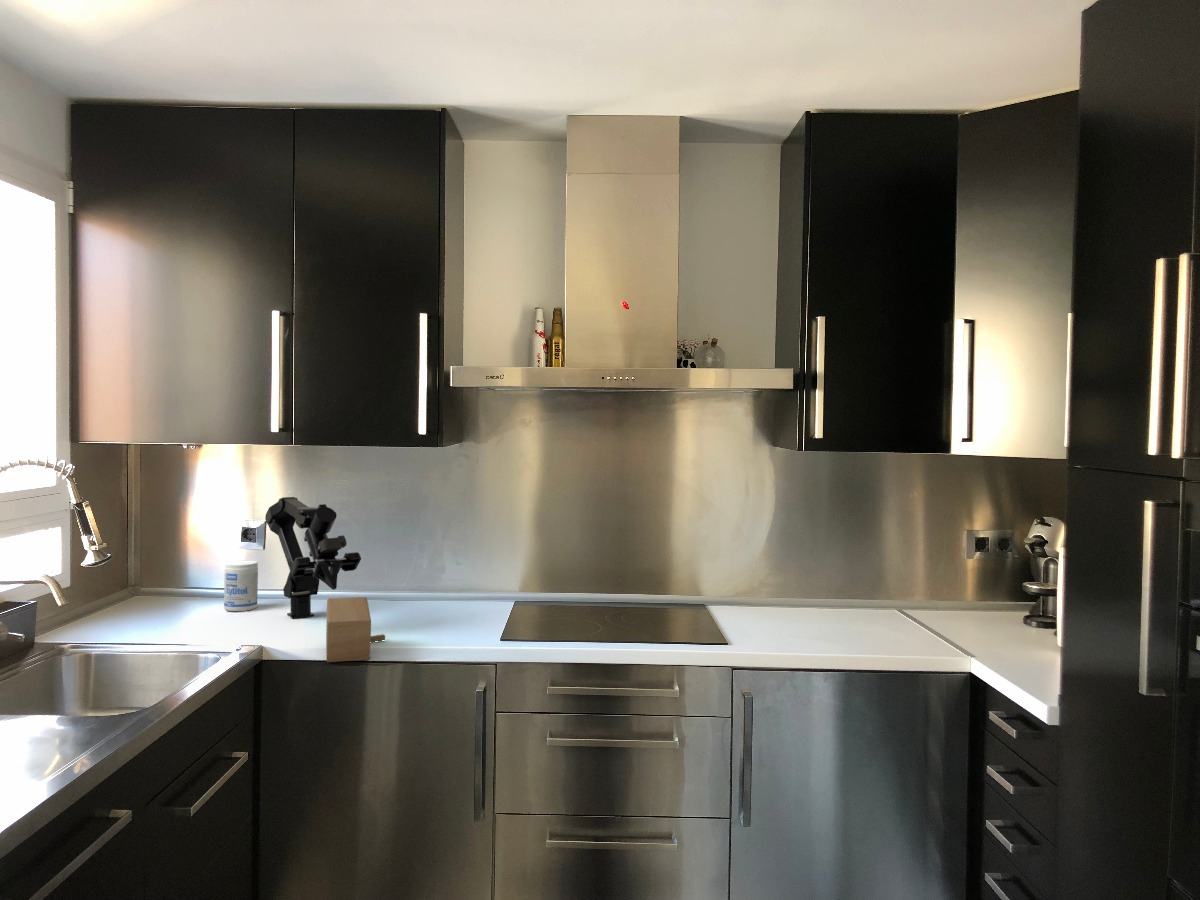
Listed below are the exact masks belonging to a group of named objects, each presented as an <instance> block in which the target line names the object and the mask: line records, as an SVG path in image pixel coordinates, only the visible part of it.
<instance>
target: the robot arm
mask: <svg viewBox="0 0 1200 900" xmlns="http://www.w3.org/2000/svg"><path fill="white" fill-rule="evenodd" d="M264 518H265V523H266V524H267V526H268V528H269V530H270V531H271V532H272V533H274V534H275V535H277V536H278V539H279V543H280V545H281V548H282V551H283V554H284V557H285V560H286V562H287V565H288V568H289V572H288V576H287V579H286V582H285V584H284V587H283V596H284V597H286V598H288V599H290V612H287V613H286V616H288V617H289V616H290V617H289V618H291V619H292V618H293V619H299V618H298V617H302V618H308V617H307V616H310V617H314V616H315V614H314V613H313V612H311V611H312V609H311V608H312V605H311V604H312V600H311V599H312V598H311V597H312V596H314V595H315V596H316V595H318V592H319V586H320V581H322V583H324V584H325V585H327V586H328V587H329V588H330V589H331V590H333V591H335V590H336V589H337V587H338V574H339V573H340V570H342V571H344V572H354V571H356V570H357V568H358V566H359V564H360V563H361V560H362V557H361V554H360V553H359V552H358V551H352V552H345V553H344V555H343V557H340V558H339V557H338V558H336V557H337V556H338V555H339V552H338V551H340V550H342V549H343V548H345V547H346V546H347V539H346V537H345V535H338V536H337V537H329V536H328V534H329V533H330V532H331V530H332V528H333V526H334V523H335V521H336V519H337V512H336V511H335V510H334V509H333V508H331V507H329V506H327V504H324V503H322V504H318V506H317V507H316V506H315V507H313V506H312V507H311V506H308V505H306V504H305V503H303V502H302V501H300V500H299V499H298V498H297V497H295V496H284V497H281V498H279V499H278V501H277V502H276V503H274V504H272V505H271V506H269V507H268V509H267V510H266V513H265V517H264ZM295 524H296V526H297V527H298V528H299V529H300V530H301V529H306V530H305V532H304V537H303V538H304V539H303V540H304V542H307V546H308V548H309V550H310V551H309V553H308V554H309V556H304V555H303V552H302V550H301V547H300V544H299V542H298V541H299V540H298V538H297V535H296V532H295V530H294V526H295ZM310 557H312V560H313V561H311V558H310Z"/></svg>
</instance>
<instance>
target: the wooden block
mask: <svg viewBox="0 0 1200 900" xmlns="http://www.w3.org/2000/svg"><path fill="white" fill-rule="evenodd" d="M326 601H327V602H326V626H325V627H326V629H325V631H326V632H325V633H326V634H325V637H326V638H325V642H326V643H325V646H326V648H325V650H326V651H325V653H326V659H325V660H326V662H327V663H336V662H337V663H338V662H352V661H353V662H354V661H355V662H356V661H369V660H370V658H371V643H370V642H371V636H372V619H371V613H370V608H369V601H368V597H366V596H362V597H361V596H358V597H334V598H332V597H331V598H327V600H326Z"/></svg>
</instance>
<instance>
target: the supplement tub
mask: <svg viewBox="0 0 1200 900" xmlns="http://www.w3.org/2000/svg"><path fill="white" fill-rule="evenodd" d="M224 565H225V566H224V584H223V585H224V589H223V590H224V591H223V594H224V595H223V608H224V610H225V611H227V612H231V611H241V612H248V611H247V610H249V611H252V609H253V610H255V609H256V608H257V607H258V598H259V597H258V593H259V592H258V588H259V587H258V585H259V582H258V581H259V580H258V579H259V566H258V565H259V563H258V561H256V560H234V561H228V562H226V563H225V564H224Z"/></svg>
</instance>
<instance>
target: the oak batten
mask: <svg viewBox="0 0 1200 900" xmlns="http://www.w3.org/2000/svg"><path fill="white" fill-rule="evenodd" d="M382 640H385V641H386V635H385V634H383V633H382V634H375V635H371V642H375V641H382ZM382 642H383V641H382ZM375 643H376V642H375Z"/></svg>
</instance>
